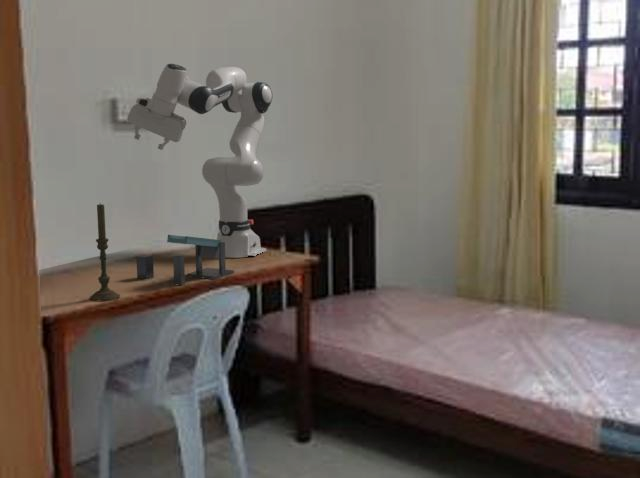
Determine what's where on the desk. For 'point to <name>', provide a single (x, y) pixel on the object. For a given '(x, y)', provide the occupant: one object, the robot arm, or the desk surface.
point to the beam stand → (200, 266)
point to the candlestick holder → (103, 259)
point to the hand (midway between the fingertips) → (148, 144)
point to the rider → (145, 266)
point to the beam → (207, 245)
